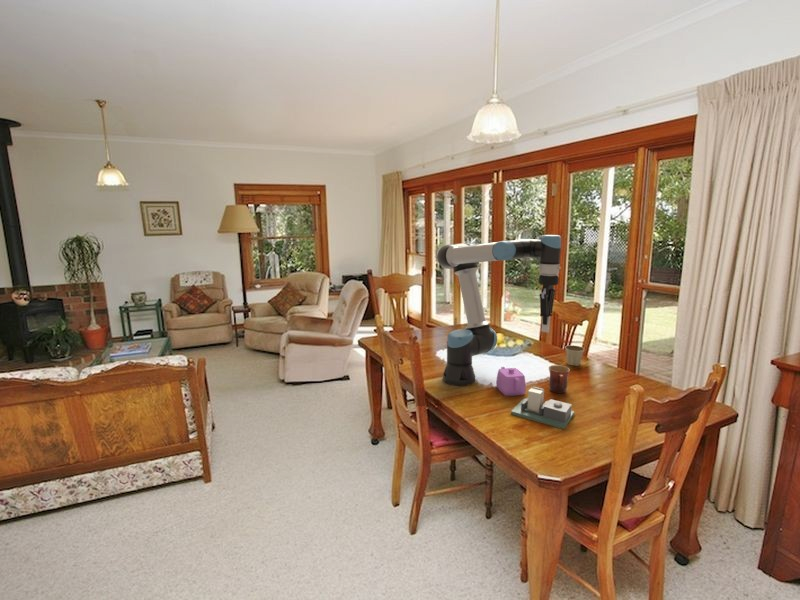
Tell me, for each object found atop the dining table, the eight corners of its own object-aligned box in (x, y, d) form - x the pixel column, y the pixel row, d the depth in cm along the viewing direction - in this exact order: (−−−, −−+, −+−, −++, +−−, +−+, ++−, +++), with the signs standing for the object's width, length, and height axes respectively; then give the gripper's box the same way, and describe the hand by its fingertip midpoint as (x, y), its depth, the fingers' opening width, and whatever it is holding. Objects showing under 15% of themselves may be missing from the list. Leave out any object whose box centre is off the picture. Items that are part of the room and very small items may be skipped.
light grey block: (527, 409, 162) (528, 390, 160) (531, 405, 165) (532, 386, 163) (538, 413, 159) (540, 393, 157) (542, 408, 162) (544, 389, 161)
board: (510, 414, 161) (511, 400, 160) (523, 401, 172) (524, 388, 171) (563, 429, 149) (565, 414, 148) (574, 414, 160) (575, 400, 159)
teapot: (491, 382, 191) (492, 362, 189) (513, 381, 192) (514, 360, 190) (506, 399, 174) (507, 376, 171) (530, 398, 175) (531, 375, 173)
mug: (545, 385, 187) (547, 364, 185) (566, 387, 185) (567, 365, 183) (549, 397, 175) (551, 374, 173) (571, 398, 174) (573, 375, 172)
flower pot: (566, 359, 220) (567, 344, 219) (585, 363, 215) (586, 347, 213) (561, 364, 213) (562, 348, 211) (580, 368, 208) (582, 352, 206)
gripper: (553, 277, 156) (549, 336, 161) (563, 273, 166) (559, 329, 171) (533, 275, 160) (530, 333, 165) (544, 271, 171) (541, 326, 175)
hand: (545, 331), depth 168 cm, fingers closed
